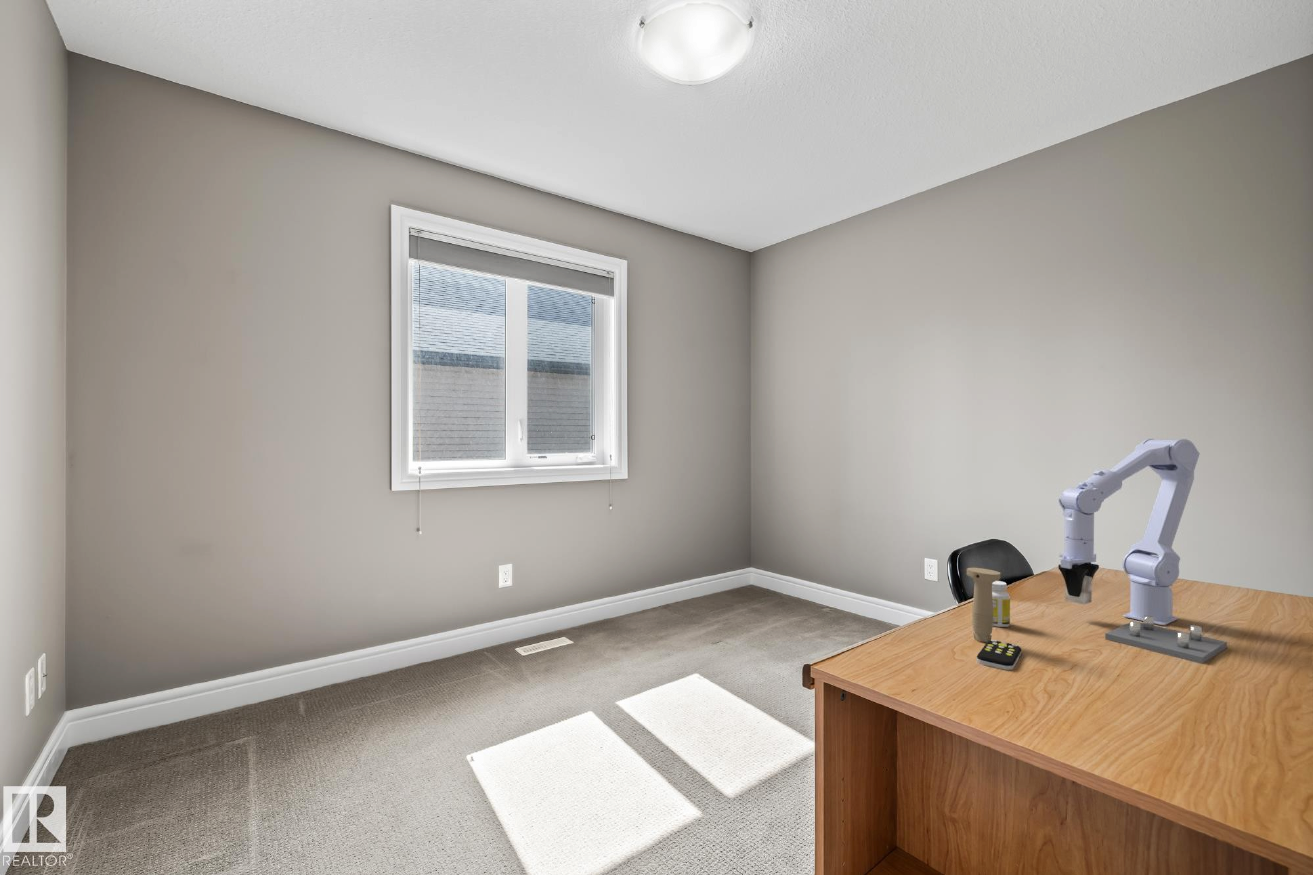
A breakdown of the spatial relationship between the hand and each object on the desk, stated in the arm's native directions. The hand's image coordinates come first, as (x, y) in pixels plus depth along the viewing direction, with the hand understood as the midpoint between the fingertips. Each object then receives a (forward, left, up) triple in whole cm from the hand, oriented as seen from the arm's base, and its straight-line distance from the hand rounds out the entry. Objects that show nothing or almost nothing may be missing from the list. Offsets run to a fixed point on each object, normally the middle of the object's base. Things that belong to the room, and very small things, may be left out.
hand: (1078, 594), depth 141 cm
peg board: (+2, +17, -6) cm, 18 cm away
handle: (+34, -5, -6) cm, 35 cm away
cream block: (0, 0, -2) cm, 2 cm away
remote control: (+41, +2, -7) cm, 42 cm away
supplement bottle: (+20, -9, -6) cm, 23 cm away
